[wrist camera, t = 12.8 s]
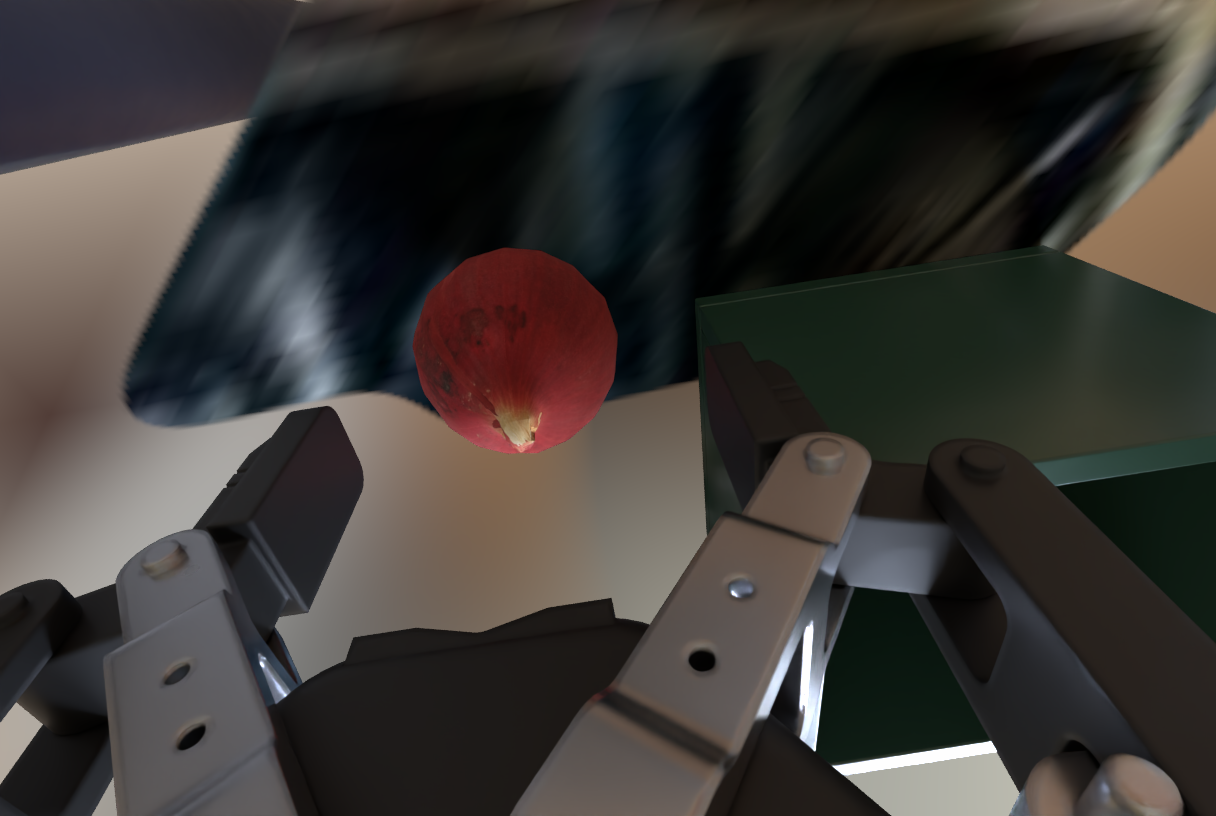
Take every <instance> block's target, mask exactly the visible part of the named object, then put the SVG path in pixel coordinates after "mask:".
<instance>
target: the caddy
mask: <svg viewBox="0 0 1216 816" xmlns="http://www.w3.org/2000/svg"><path fill="white" fill-rule="evenodd" d="M695 314H696V334H697V353H698V373H699V389H700V390H699V391H700V412H701V431H702V451H703V470H704V490H705V508H706V529H707V536H708V534H709V532H710V531H711V529H712V528H713V526H714V525H715V523H716V522H717V520H718V519H719V517H720V516H721V515H722V514H723V513H724V512H726V511H732V512H735V513H738V514H742V509H741V507H740V504H739V501H738V499H737V496H736V494H735V491H734V489H733V486H732V484H731V481H730V479H729V476H728V474H727V471H726V468H725V466H724V463H723V461H722V458H721V456H720V453H719V451H718V448H717V446H716V443H715V441H714V438H713V435H712V431H711V427H710V422H709V416H708V405H707V388H706V371H705V348H706V346H711V345H718V344H724V343H730V342H736V341H741V342H742V343H743V344H744V346H745V347H746V349H747V351H748V352H749V354H750V356H751V357H752V359H753V360H754V362H757V361H763V360H771V361H773V362H775V363H777V364H778V365H780V366H782V367H784V368H785V369H787V370H788V371H789V372H790V374H791V375H792V377H793V378H794V379H795V381H796V382H797V385H798V386H800V388H801V389H802V391H803V392H804V394H805V397H807V398H808V399H809V401H810V402H811V403H812V405H813V406H814V408H815V409H816V411H817V412H818V413H819V415H820V416H821V418H822V419H823V420H824V422H825V423H826V425H827V426H828V428H829V429H830V430H831V432H832V433H837V434H841V435H844V436H847V437H850V438H852V439H854V440H856V441H857V442H859V443H860V444H862V445H863V446H864V447H865V448H866V449H867V451H868V452H869V454H870V456H871V459H873V460H878V461H884V462H894V463H912V464H927V463H928V458H929V454H930V452H931V450H932V449H933V448H934V447H935V446H936V445H938V444H940V443H942V442H944V441H948V440H952V439H959V438H975V439H983V440H988V441H993V442H996V443H999V444H1002V445H1005V446H1007V447H1010V448H1012V449H1014V450H1016V451H1017V452H1019V453H1020V454H1022V455H1023V456H1025V457H1026V458H1027V459H1028V460H1029V461H1030V462H1031V463H1032V464H1033V465H1034V466H1035V467H1036V468H1037V469H1038V470H1040V471H1041V472H1042V473H1043V474H1044V475H1045V476H1046V477H1047V478H1048V479H1049V480H1050V481H1051V482H1052V483H1053V484H1054V485H1055V486H1056V487H1057V488H1058V489H1059V490H1060V491H1061V492H1062V493H1063V494H1064V495H1065V496H1066V497H1067V498H1068V499H1069V500H1070V501H1071V502H1072V503H1073V504H1074V505H1075V506H1076V507H1077V508H1078V509H1079V510H1080V511H1081V512H1082V513H1083V514H1084V515H1085V516H1086V517H1087V518H1088V519H1089V520H1090V521H1091V522H1092V523H1093V524H1095V525H1096V526H1097V527H1098V528H1099V529H1100V530H1101V531H1102V532H1103V533H1104V534H1105V535H1106V536H1107V537H1108V538H1109V539H1110V540H1111V541H1112V542H1113V543H1114V544H1115V545H1116V546H1117V547H1118V548H1119V549H1120V550H1121V551H1122V552H1123V553H1124V554H1125V555H1126V556H1127V557H1128V558H1129V559H1130V560H1131V561H1132V562H1133V563H1134V564H1135V565H1136V566H1137V567H1138V568H1139V569H1140V570H1141V571H1142V572H1143V573H1144V574H1145V575H1146V576H1147V577H1148V578H1150V579H1151V580H1152V581H1153V582H1154V583H1155V584H1156V585H1157V586H1158V587H1159V588H1160V589H1161V590H1162V591H1163V592H1164V593H1165V594H1166V595H1167V596H1168V597H1169V598H1170V599H1171V600H1172V601H1173V602H1174V603H1175V604H1176V605H1177V606H1178V607H1179V608H1180V609H1181V610H1182V611H1183V612H1184V613H1185V614H1186V615H1187V616H1188V617H1189V618H1190V619H1191V620H1192V621H1193V622H1194V623H1195V624H1196V625H1197V626H1198V627H1199V628H1200V629H1201V630H1202V631H1203V632H1205V633H1206V634H1207V635H1208V636H1209V637H1210V638H1211V639H1212V640H1213V641H1214V642H1215V643H1216V314H1215V313H1213V312H1211V311H1208V310H1205V309H1203V308H1200V307H1198V306H1195V305H1193V304H1190V303H1188V302H1185V301H1183V300H1180V299H1178V298H1175V297H1173V296H1170V295H1168V294H1165V293H1162V292H1160V291H1158V290H1155V289H1152V288H1150V287H1147V286H1145V285H1142V284H1140V283H1138V282H1135V281H1132V280H1130V279H1127V278H1125V277H1122V276H1120V275H1117V274H1115V273H1112V272H1110V271H1107V270H1105V269H1102V268H1099V267H1097V266H1095V265H1092V264H1090V263H1087V262H1085V261H1082V260H1079V259H1077V258H1074V257H1072V256H1070V255H1067V254H1065V253H1062V252H1058V251H1057V250H1054V249H1052V248H1049V247H1047V246H1044V245H1042V246H1036V247H1029V248H1023V249H1016V250H1010V251H1003V252H997V253H990V254H984V255H977V256H970V257H964V258H957V259H951V260H944V261H938V262H931V263H925V264H918V265H912V266H905V267H899V268H892V269H886V270H879V271H873V272H866V273H859V274H853V275H846V276H840V277H833V278H827V279H820V280H814V281H807V282H801V283H794V284H788V285H781V286H775V287H768V288H761V289H755V290H748V291H742V292H735V293H729V294H722V295H716V296H709V297H703V298H697V299H695ZM805 743H806V744H807V745H808V746H809V747H811V748H812V749H813V750H814V751H815V752H816V753H818V754H819V755H820V756H821V757H822V758H824V759H825V760H826V761H827V762H828V763H829V764H831V765H832V766H833V767H834V768H835V769H837V770H838V771H839V772H840V773H841V774H842V775H849V774H856V773H862V772H868V771H875V770H881V769H888V768H894V767H900V766H907V765H914V764H920V763H927V762H933V761H939V760H946V759H952V758H959V757H965V756H971V755H978V754H985V753H991V752H997V751H996V749H995V748H994V746H993V744H992V742H991V741H990V739H989V737H988V735H987V733H986V732H985V730H984V728H983V726H982V724H981V723H980V721H979V719H978V717H977V715H976V714H975V712H974V710H973V708H972V706H971V705H970V703H969V701H968V699H967V697H966V696H965V694H964V692H963V690H962V688H961V687H960V685H959V683H958V681H957V679H956V678H955V676H954V674H953V672H952V670H951V669H950V667H949V665H948V663H947V661H946V660H945V658H944V656H943V654H942V652H941V651H940V649H939V647H938V645H937V643H936V642H935V640H934V638H933V636H932V634H931V633H930V631H929V629H928V627H927V625H926V624H925V622H924V620H923V618H922V616H921V615H920V613H919V611H918V609H917V607H916V606H915V604H914V602H913V600H912V598H911V597H910V595H909V593H907V592H898V591H890V590H881V589H873V588H864V587H856V586H855V588H854V591H853V594H852V596H851V599H850V602H849V605H848V607H847V610H846V613H845V616H844V619H843V621H842V624H841V627H840V630H839V633H838V635H837V638H836V641H835V644H834V647H833V649H832V652H831V655H830V658H829V661H828V663H827V666H826V669H825V673H824V676H823V680H822V684H821V689H820V694H819V698H818V702H817V706H816V710H815V713H814V717H813V720H812V723H811V726H810V729H809V732H808V735H807V738H806V741H805Z"/></svg>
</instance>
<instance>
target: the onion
mask: <svg viewBox="0 0 1216 816" xmlns="http://www.w3.org/2000/svg"><path fill="white" fill-rule="evenodd" d="M413 350H414V355H415V360H416V364H417V369H418V374H419V378H420V383H421V385H422V388H423V391H424V394H425V395H426V396H427V398H428V399H429V400H430V402H431V403H432V404H433V406H434V407H435V409H436V410H437V411H438V413H439V414H440V415H441V417H442V418H443V419H444V421H445V422H446V423H447V425H448V426H449V427H450V428H451V429H452V430H454V431H455V432H457V433H458V434H460V435H461V436H463V437H464V438H466V439H467V440H469V441H470V442H472V443H473V444H475V445H477V446H479V447H482V448H486V449H490V450H495V451H499V452H503V453H508V454H509V453H539V452H541V451H544V450H546V449H548V448H551V447H553V446H555V445H557V444H560V443H563V442H565V441H567V440H568V439H570V438H571V437H572V436H573V435H575V434H576V433H577V432H578V431H579V430H580V429H582V428H583V427H584V426H585V425H586V424H587V423H588V422H589V421H591V420H592V419H593V418H594V417H595V415H596V414H597V412H598V411H599V409H600V407H601V405H602V403H603V401H604V399H605V397H606V395H607V393H608V391H609V389H610V387H611V385H612V383H613V381H614V374H615V364H616V351H617V332H616V329H615V326H614V323H613V320H612V317H611V315H610V312H609V309H608V306H607V303H606V300H605V298H604V297H603V296H602V295H601V294H600V293H599V292H598V291H597V290H596V289H595V288H594V287H593V286H592V285H591V284H590V283H589V282H588V281H587V280H586V279H585V278H584V277H583V276H582V275H581V273H580V272H579V271H578V270H577V269H576V268H575V267H574V266H573V265H571V264H568V263H566V262H564V261H562V260H560V259H558V258H556V257H553V256H551V255H549V254H547V253H545V252H543V251H541V250H528V249H516V248H501V249H497V250H494V251H491V252H488V253H484V254H481V255H478V256H475V257H471V258H468V259H466V260H465V261H464V262H463V263H461V264H460V265H459V266H458V267H457V268H456V269H454V270H453V271H452V272H451V273H450V274H449V275H448V276H446V277H445V278H444V279H443V280H442V281H441V282H439V283H438V284H437V285H436V286H435V287H434V288H433V289H432V290H431V291H430V292H429V293H428V295H427V298H426V301H425V304H424V307H423V310H422V313H421V316H420V319H419V322H418V325H417V328H416V331H415V335H414V341H413Z"/></svg>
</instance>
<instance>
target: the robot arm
mask: <svg viewBox="0 0 1216 816" xmlns="http://www.w3.org/2000/svg"><path fill="white" fill-rule="evenodd" d="M705 371H706V388H707V405H708V416H709V422H710V427H711V431H712V435H713V438H714V441H715V443H716V446H717V448H718V451H719V453H720V456H721V458H722V461H723V463H724V466H725V468H726V471H727V474H728V476H729V479H730V481H731V484H732V486H733V489H734V491H735V494H736V496H737V499H738V501H739V504H740V507H741V509H742V514H738V513H735V512H732V511H726V512H724V513H723V514H722V515H721V516H720V517H719V519H718V520H717V522H716V523H715V525H714V526H713V528H712V529H711V531H710V532H709V534H708V536H707V537H706V539H705V540H704V542H703V544H702V545H701V546H700V548H699V550H698V551H697V553H696V554H695V556H694V557H693V559H692V560H691V562H690V564H689V565H688V567H687V568H686V570H685V571H684V573H683V574H682V576H681V577H680V579H679V581H678V582H677V584H676V585H675V587H674V588H673V590H672V592H671V593H670V594H669V596H668V598H667V599H666V601H665V602H664V604H663V605H662V607H661V608H660V610H659V612H658V613H657V615H656V616H655V618H654V619H653V621H652V623H651V624H650V625H649V624H646V623H643V622H639V621H634V620H629V619H619V618H615V613H614V608H613V603H612V599H611V598H608V599H602V600H595V601H588V602H582V603H575V604H569V605H563V606H556V607H550V608H546V609H543V610H540V611H538V612H535V613H532V614H530V615H527V616H525V617H522V618H519V619H517V620H514V621H511V622H509V623H506V624H503V625H500V626H498V627H495V628H492V629H490V630H487V631H484V632H478V633H472V632H460V631H459V632H458V631H448V630H436V629H423V628H412V629H406V630H399V631H393V632H387V633H380V634H373V635H367V636H361V637H354V638H353V640H352V643H351V646H350V649H349V652H348V654H347V658H346V660H345V661H344V662H341V663H339V664H336V665H334V666H332V667H330V668H328V669H326V670H324V671H322V672H320V673H319V674H317V675H315V676H314V677H312V678H310V679H308V680H307V681H305V682H304V683H302V680H301V678H300V676H299V674H298V672H297V669H296V667H295V665H294V663H293V660H292V658H291V656H290V654H289V652H288V649H287V647H286V645H285V643H284V641H283V638H282V637H281V635H280V634H279V632H278V631H277V630H276V628H275V627H274V626H275V624H276V622H277V620H278V618H279V617H282V616H289V615H296V614H302V613H308V612H309V609H310V607H311V605H312V602H313V600H314V598H315V596H316V593H317V591H318V589H319V587H320V585H321V582H322V580H323V578H324V576H325V573H326V571H327V569H328V567H329V564H330V562H331V560H332V558H333V555H334V553H335V551H336V549H337V546H338V544H339V542H340V539H341V537H342V535H343V533H344V531H345V528H346V526H347V524H348V522H349V519H350V517H351V515H352V513H353V510H354V508H355V506H356V503H357V501H358V499H359V497H360V495H361V492H362V489H363V481H364V479H363V470H362V466H361V464H360V461H359V459H358V457H357V455H356V453H355V450H354V448H353V446H352V444H351V442H350V440H349V438H348V436H347V433H346V431H345V429H344V427H343V425H342V423H341V421H340V418H339V416H338V414H337V413H336V411H335V410H334V409H333V408H331V407H329V406H324V407H318V408H311V409H305V410H299V411H293V412H291V413H289V414H288V415H287V417H286V418H285V420H284V421H283V422H282V424H281V425H280V426H279V428H278V429H277V431H276V432H275V433H274V435H273V436H272V437H271V438H269V439H268V440H267V441H266V442H264V443H263V444H262V445H260V446H259V447H258V448H257V449H255V450H254V451H253V452H252V453H250V454H249V455H248V457H247V458H246V459H245V461H244V462H243V463H242V465H241V466H240V467H239V469H238V470H237V474H234V475H233V476H232V478H231V479H230V480H229V482H228V483H227V484H226V485H227V488H223V490H222V491H221V492H220V494H219V495H218V496H217V497H216V499H215V500H214V501H213V503H212V504H211V505H210V507H209V508H208V509H207V511H206V512H205V513H204V515H203V516H202V517H201V518H200V520H199V521H198V523H197V524H196V525H195V526H194V528H193V529H192V530H185V531H181V532H177V533H174V534H171V535H168V536H166V537H164V538H162V539H159V540H158V541H156V542H154V543H152V544H150V545H149V546H147V547H146V548H144V549H143V550H141V551H140V552H139V553H137V554H136V555H135V556H134V557H132V558H131V559H130V560H129V561H128V562H127V563H126V564H125V565H124V567H123V568H122V569H121V570H120V572H119V574H118V576H117V579H116V583H115V584H112V585H109V586H107V587H104V588H101V589H98V590H96V591H93V592H90V593H87V594H84V595H82V596H79V597H76V598H74V597H73V596H72V595H71V594H70V593H69V592H68V591H67V590H66V589H65V587H63V585H62V584H61V583H59V582H58V581H57V580H52V579H45V580H38V581H34V582H30V583H27V584H24V585H21V586H19V587H17V588H14V589H12V590H10V591H8V592H6V593H4V594H2V595H1V596H0V722H1V721H2V719H3V718H4V717H5V716H6V714H7V713H8V712H9V710H10V709H11V708H12V707H13V705H14V704H15V703H16V702H17V703H18V704H19V705H20V706H22V707H23V708H24V709H25V710H26V711H28V712H29V713H30V714H31V715H32V716H34V717H35V718H36V719H37V720H39V721H40V722H41V723H42V724H43V725H42V727H41V728H40V729H39V731H38V732H37V734H36V735H35V736H34V738H33V739H32V741H31V742H30V744H29V745H28V746H27V748H26V749H25V751H24V752H23V753H22V755H21V756H20V758H19V759H18V761H17V762H16V763H15V765H14V766H13V768H12V769H11V770H10V772H9V773H8V775H7V776H6V778H5V779H4V780H3V782H2V783H1V784H0V816H92V814H93V812H94V810H95V809H96V807H97V805H98V803H99V801H100V800H101V798H102V796H103V794H104V793H105V791H106V789H107V787H108V785H109V784H110V782H111V780H112V778H113V777H114V787H115V797H116V808H117V816H891V815H890V814H888V813H887V812H886V811H885V810H884V809H883V808H881V807H880V806H879V805H878V804H877V803H875V802H874V801H873V800H872V799H871V798H870V797H868V796H867V795H866V794H865V793H864V792H862V791H861V790H860V789H859V788H858V787H857V786H855V785H854V784H853V783H852V782H851V781H850V780H848V779H847V778H846V777H845V776H844V775H842V774H841V773H840V772H839V771H838V770H837V769H835V768H834V767H833V766H832V765H831V764H829V763H828V762H827V761H826V760H825V759H824V758H822V757H821V756H820V755H819V754H818V753H816V752H815V751H814V750H813V749H812V748H811V747H809V746H808V745H807V744H806V743H805V741H806V738H807V735H808V732H809V729H810V726H811V723H812V720H813V717H814V713H815V710H816V706H817V702H818V698H819V694H820V689H821V684H822V680H823V676H824V673H825V669H826V666H827V663H828V661H829V658H830V655H831V652H832V649H833V647H834V644H835V641H836V638H837V635H838V633H839V630H840V627H841V624H842V621H843V619H844V616H845V613H846V610H847V607H848V605H849V602H850V599H851V596H852V594H853V591H854V588H855V586H856V587H864V588H873V589H881V590H890V591H898V592H907V593H909V595H910V597H911V598H912V600H913V602H914V604H915V606H916V607H917V609H918V611H919V613H920V615H921V616H922V618H923V620H924V622H925V624H926V625H927V627H928V629H929V631H930V633H931V634H932V636H933V638H934V640H935V642H936V643H937V645H938V647H939V649H940V651H941V652H942V654H943V656H944V658H945V660H946V661H947V663H948V665H949V667H950V669H951V670H952V672H953V674H954V676H955V678H956V679H957V681H958V683H959V685H960V687H961V688H962V690H963V692H964V694H965V696H966V697H967V699H968V701H969V703H970V705H971V706H972V708H973V710H974V712H975V714H976V715H977V717H978V719H979V721H980V723H981V724H982V726H983V728H984V730H985V732H986V733H987V735H988V737H989V739H990V741H991V742H992V744H993V746H994V748H995V749H996V751H997V753H998V755H999V756H1000V758H1001V760H1002V762H1003V764H1004V766H1005V767H1006V769H1007V771H1008V773H1009V775H1010V776H1011V778H1012V780H1013V782H1014V784H1015V785H1016V787H1017V789H1018V791H1019V793H1020V794H1019V796H1018V799H1017V800H1016V802H1015V804H1014V806H1013V808H1012V811H1011V812H1010V814H1009V816H1216V643H1215V642H1214V641H1213V640H1212V639H1211V638H1210V637H1209V636H1208V635H1207V634H1206V633H1205V632H1203V631H1202V630H1201V629H1200V628H1199V627H1198V626H1197V625H1196V624H1195V623H1194V622H1193V621H1192V620H1191V619H1190V618H1189V617H1188V616H1187V615H1186V614H1185V613H1184V612H1183V611H1182V610H1181V609H1180V608H1179V607H1178V606H1177V605H1176V604H1175V603H1174V602H1173V601H1172V600H1171V599H1170V598H1169V597H1168V596H1167V595H1166V594H1165V593H1164V592H1163V591H1162V590H1161V589H1160V588H1159V587H1158V586H1157V585H1156V584H1155V583H1154V582H1153V581H1152V580H1151V579H1150V578H1148V577H1147V576H1146V575H1145V574H1144V573H1143V572H1142V571H1141V570H1140V569H1139V568H1138V567H1137V566H1136V565H1135V564H1134V563H1133V562H1132V561H1131V560H1130V559H1129V558H1128V557H1127V556H1126V555H1125V554H1124V553H1123V552H1122V551H1121V550H1120V549H1119V548H1118V547H1117V546H1116V545H1115V544H1114V543H1113V542H1112V541H1111V540H1110V539H1109V538H1108V537H1107V536H1106V535H1105V534H1104V533H1103V532H1102V531H1101V530H1100V529H1099V528H1098V527H1097V526H1096V525H1095V524H1093V523H1092V522H1091V521H1090V520H1089V519H1088V518H1087V517H1086V516H1085V515H1084V514H1083V513H1082V512H1081V511H1080V510H1079V509H1078V508H1077V507H1076V506H1075V505H1074V504H1073V503H1072V502H1071V501H1070V500H1069V499H1068V498H1067V497H1066V496H1065V495H1064V494H1063V493H1062V492H1061V491H1060V490H1059V489H1058V488H1057V487H1056V486H1055V485H1054V484H1053V483H1052V482H1051V481H1050V480H1049V479H1048V478H1047V477H1046V476H1045V475H1044V474H1043V473H1042V472H1041V471H1040V470H1038V469H1037V468H1036V467H1035V466H1034V465H1033V464H1032V463H1031V462H1030V461H1029V460H1028V459H1027V458H1026V457H1025V456H1023V455H1022V454H1020V453H1019V452H1017V451H1016V450H1014V449H1012V448H1010V447H1007V446H1005V445H1002V444H999V443H996V442H993V441H988V440H983V439H975V438H959V439H952V440H948V441H944V442H942V443H940V444H938V445H936V446H935V447H934V448H933V449H932V450H931V452H930V454H929V458H928V463H927V464H912V463H894V462H884V461H878V460H873V459H871V456H870V454H869V452H868V451H867V449H866V448H865V447H864V446H863V445H862V444H860V443H859V442H857V441H856V440H854V439H852V438H850V437H847V436H844V435H841V434H837V433H832V432H831V430H830V429H829V428H828V426H827V425H826V423H825V422H824V420H823V419H822V418H821V416H820V415H819V413H818V412H817V411H816V409H815V408H814V406H813V405H812V403H811V402H810V401H809V399H808V398H807V397H805V394H804V392H803V391H802V389H801V388H800V386H798V385H797V382H796V381H795V379H794V378H793V377H792V375H791V374H790V372H789V371H788V370H787V369H785V368H784V367H782V366H780V365H778V364H777V363H775V362H773V361H771V360H763V361H757V362H754V360H753V359H752V357H751V356H750V354H749V352H748V351H747V349H746V347H745V346H744V344H743V343H742V342H741V341H736V342H730V343H724V344H718V345H711V346H706V348H705Z"/></svg>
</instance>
